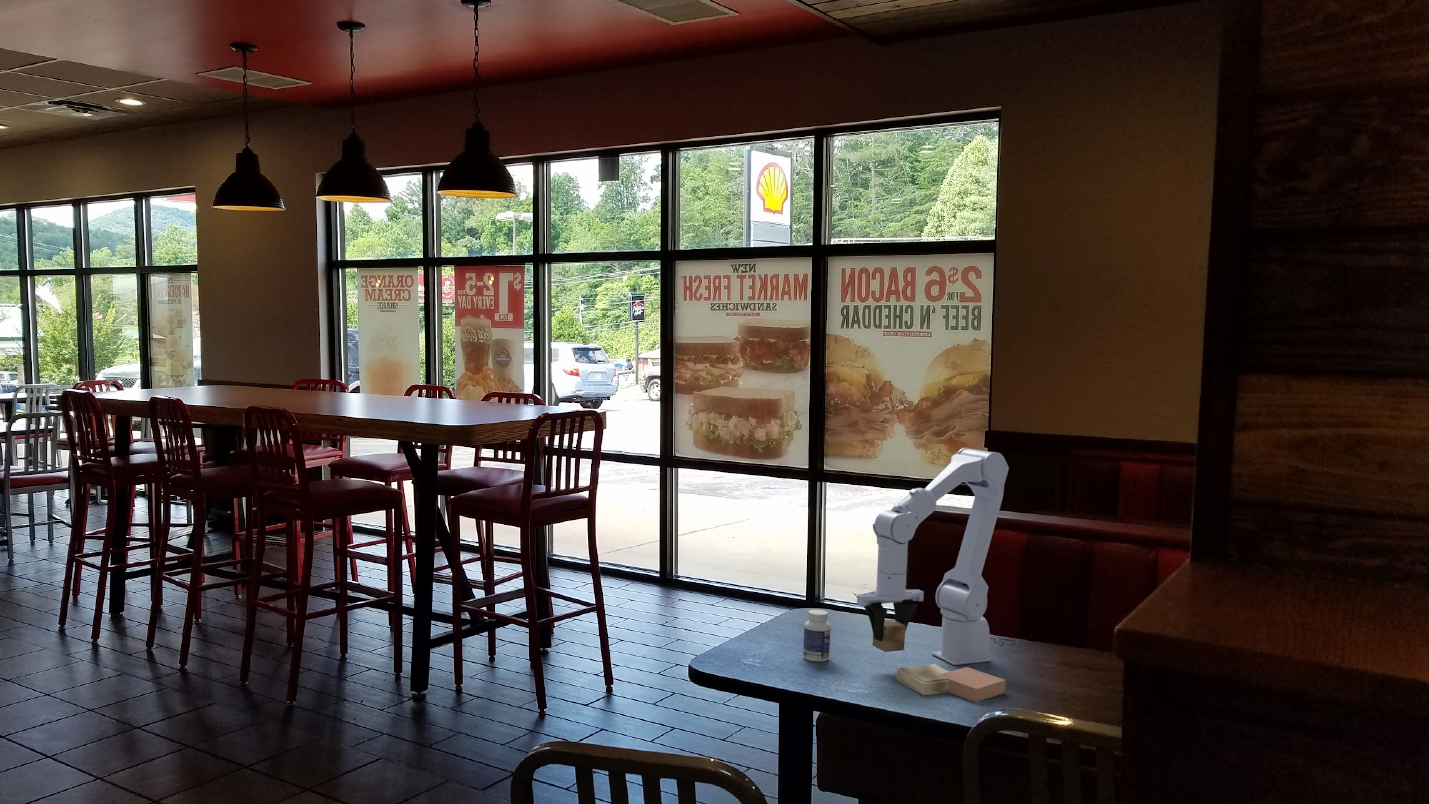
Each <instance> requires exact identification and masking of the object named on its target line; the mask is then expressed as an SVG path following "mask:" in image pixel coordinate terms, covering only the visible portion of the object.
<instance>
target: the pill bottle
mask: <svg viewBox="0 0 1429 804" xmlns="http://www.w3.org/2000/svg"><path fill="white" fill-rule="evenodd" d="M828 614H829V613H828V611H826V610H824V609H809V610H808V614H807V619H808V620H806V621H805V623H804V627H803V648H802V651H803V652H802V654H803V658H804V660H806V661H810V662H817V663H821V662H822V663H823V662H825V661H828V660H829V658H830V647H831V646H830V645H831V630H832V629H831V627H832V626H831V624H830V622H828V618H829V617H828Z"/></svg>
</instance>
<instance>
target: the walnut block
mask: <svg viewBox="0 0 1429 804" xmlns="http://www.w3.org/2000/svg"><path fill="white" fill-rule="evenodd" d="M905 637H906V632H905V625H904V624H901V623H899V622H897V621H895V619H885V621H884V628H883V639H882V641H878V640H876V639H874V636H873V635H872V646H873V647H875V648H877V649H878V650H880V651H883V652H884V653H889V652H897V651H899V652H900V651H901V652H902V651H905V641H906V640H905Z"/></svg>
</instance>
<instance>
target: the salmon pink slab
mask: <svg viewBox="0 0 1429 804" xmlns="http://www.w3.org/2000/svg"><path fill="white" fill-rule="evenodd" d="M939 676H941V677H944V678H947V680H948V681H949V692H948V693H950V694H953V695H955V696H958V697H960V698H964V699H966V700H969V701H972V702H975V703H977V702H981V701H984V700H988V699H990V698H994V697H996V696H999V695H1003V694H1005V693H1006V683H1007V682H1006V681H1007V680H1006V679H1005V678H1001V677H999V676H995V675H992V674H989V673H986V672H983V671H980V670H977V669H974V668H971V667H968V666H964V667H961V668H958V669H955V670H951V671H949V672H947V673H943V674H940V675H939ZM951 677H953V678H951Z"/></svg>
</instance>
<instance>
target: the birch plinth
mask: <svg viewBox="0 0 1429 804" xmlns="http://www.w3.org/2000/svg"><path fill="white" fill-rule="evenodd" d="M947 672H950V671H949V670H947V669H945V668H944V667H941V666H939V665H938V664H935V663H930V664H924V665H914V666H905V667H900V668H896V676H895V680H896V681H897V682H899V683H901V684H902V685H905V686H906V687H908V688H910V689H911V690H913V691H915V692H917V693H918V694H920V695H921V696H929V695H938V694H944V693H949V681H948V680H947V678H944V677H941V676H939V675H940V674H943V673H947ZM951 678H953V677H951Z"/></svg>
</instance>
